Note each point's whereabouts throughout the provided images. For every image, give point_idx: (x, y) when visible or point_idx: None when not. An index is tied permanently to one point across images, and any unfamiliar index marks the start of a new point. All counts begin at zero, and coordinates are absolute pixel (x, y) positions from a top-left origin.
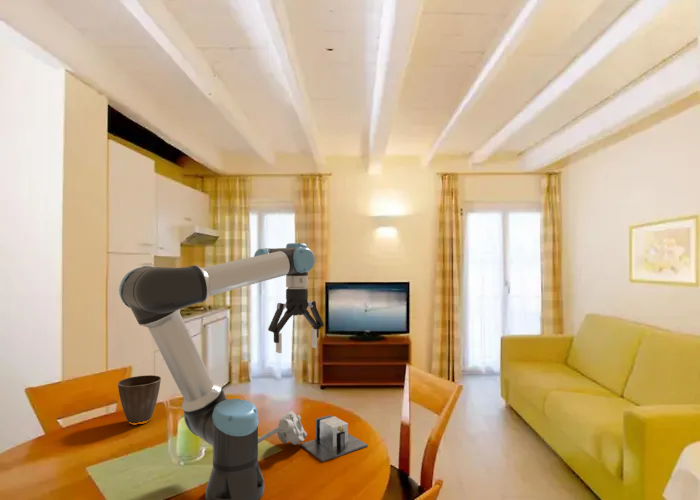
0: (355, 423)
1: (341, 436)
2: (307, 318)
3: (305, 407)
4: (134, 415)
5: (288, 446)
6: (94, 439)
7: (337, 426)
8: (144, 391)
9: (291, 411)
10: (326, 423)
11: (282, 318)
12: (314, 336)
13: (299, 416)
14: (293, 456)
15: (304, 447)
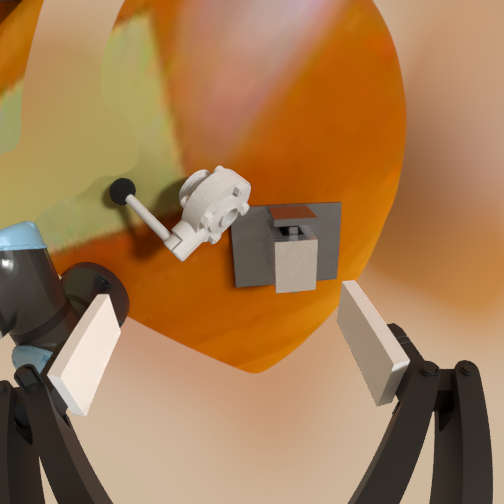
0: (385, 177)
1: None
2: (362, 483)
3: (343, 25)
4: (2, 1)
5: None
6: None
7: (287, 291)
8: None
9: (218, 196)
10: (277, 267)
11: (58, 489)
12: (360, 364)
13: (243, 191)
14: None
15: (231, 226)
